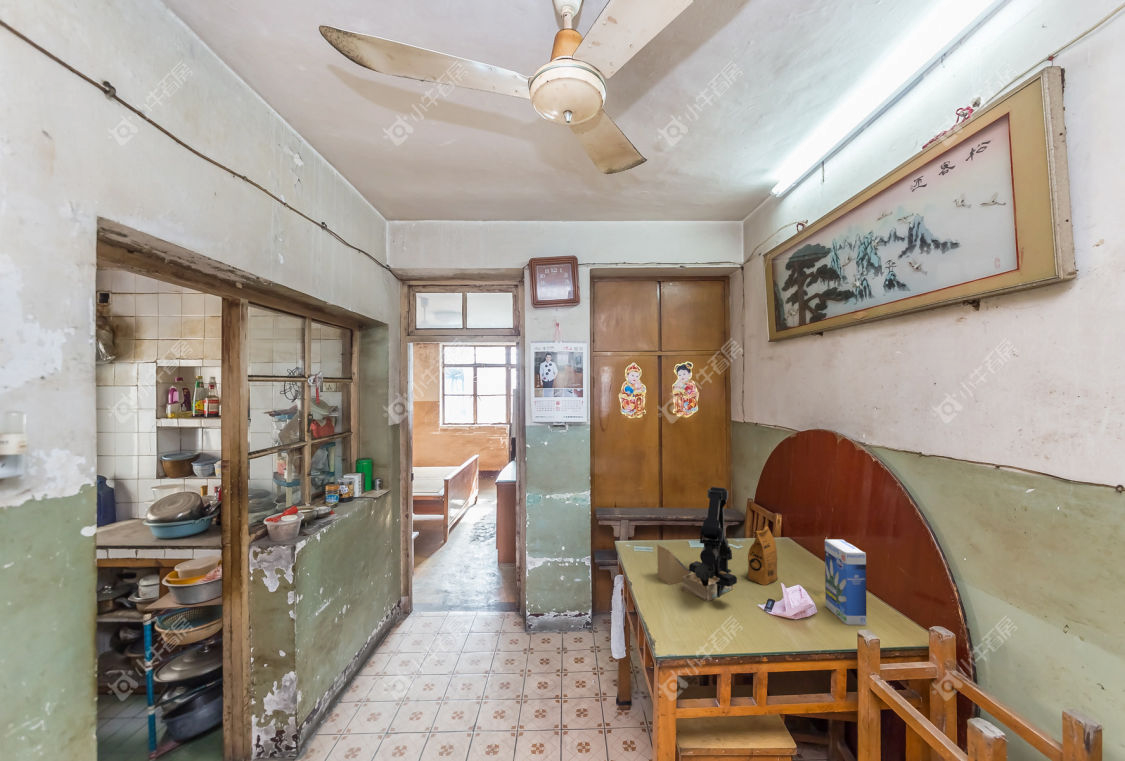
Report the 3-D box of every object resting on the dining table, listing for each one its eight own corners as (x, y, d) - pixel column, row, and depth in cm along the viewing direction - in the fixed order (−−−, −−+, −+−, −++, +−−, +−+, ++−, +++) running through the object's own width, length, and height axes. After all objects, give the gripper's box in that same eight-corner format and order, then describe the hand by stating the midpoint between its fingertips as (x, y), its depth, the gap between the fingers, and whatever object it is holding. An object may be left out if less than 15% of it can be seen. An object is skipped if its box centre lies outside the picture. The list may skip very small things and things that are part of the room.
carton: (708, 578, 188) (708, 565, 188) (731, 587, 179) (731, 574, 179) (682, 589, 177) (682, 576, 177) (705, 600, 168) (705, 587, 168)
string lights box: (824, 606, 163) (823, 538, 164) (844, 606, 163) (843, 538, 163) (846, 625, 150) (845, 552, 150) (868, 625, 150) (867, 552, 150)
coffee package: (744, 578, 187) (743, 528, 187) (759, 571, 194) (758, 523, 194) (765, 587, 179) (764, 535, 179) (781, 579, 186) (780, 529, 186)
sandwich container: (697, 578, 188) (697, 544, 188) (669, 585, 182) (669, 550, 182) (684, 571, 196) (684, 538, 196) (657, 577, 190) (657, 543, 190)
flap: (731, 588, 178) (730, 574, 178) (732, 588, 177) (732, 575, 177) (706, 600, 168) (706, 586, 168) (708, 601, 167) (708, 586, 168)
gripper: (680, 553, 173) (680, 591, 173) (720, 568, 158) (721, 610, 157) (696, 546, 179) (697, 583, 179) (737, 561, 164) (738, 601, 164)
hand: (712, 594), depth 170 cm, fingers open, 5 cm apart
